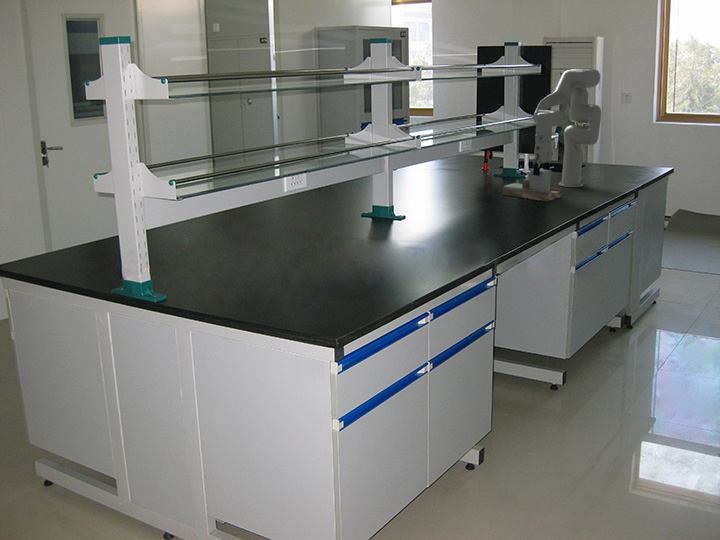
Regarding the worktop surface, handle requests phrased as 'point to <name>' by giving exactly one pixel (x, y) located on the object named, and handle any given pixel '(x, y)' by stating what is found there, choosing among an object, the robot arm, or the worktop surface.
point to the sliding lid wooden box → (532, 193)
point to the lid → (521, 186)
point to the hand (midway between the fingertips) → (541, 173)
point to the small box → (540, 181)
